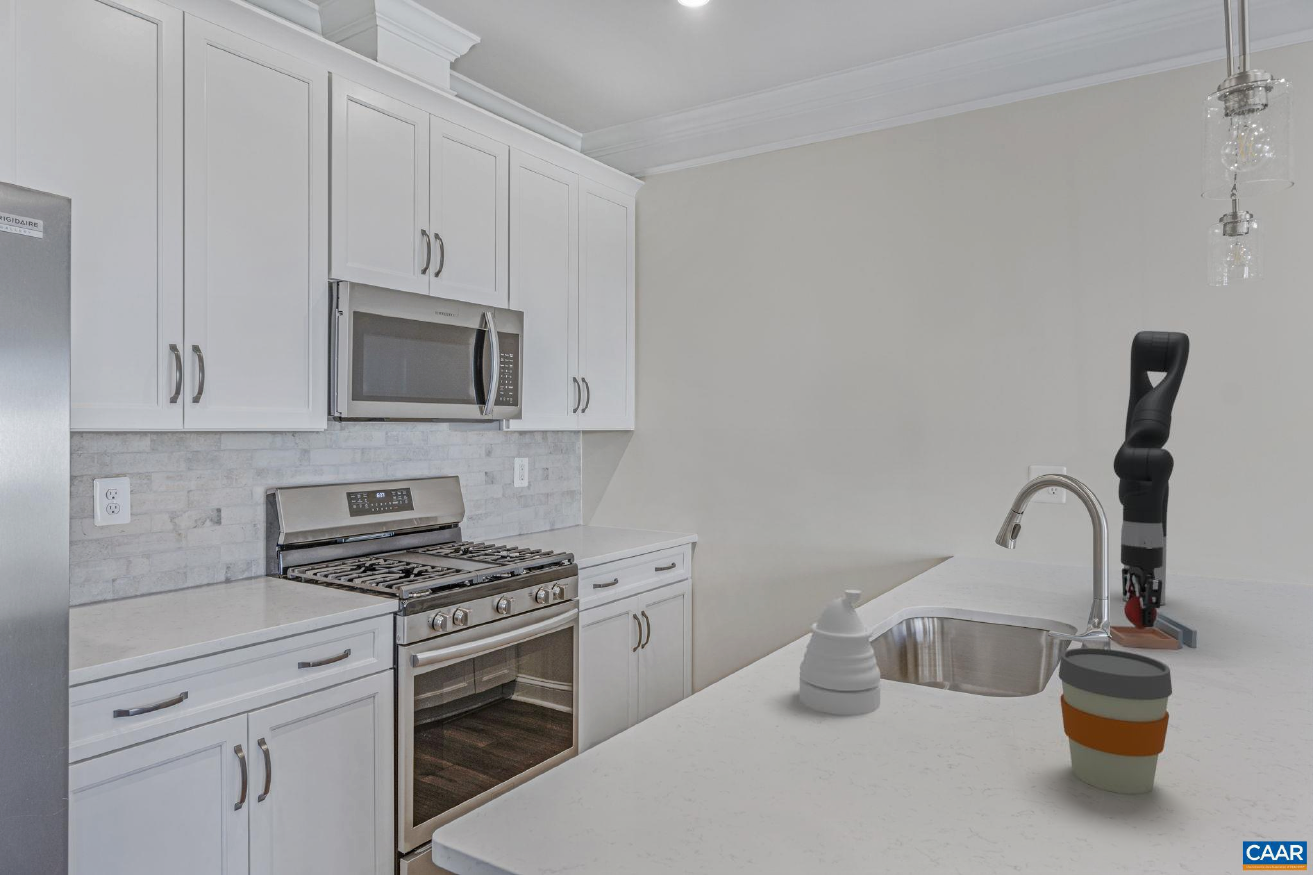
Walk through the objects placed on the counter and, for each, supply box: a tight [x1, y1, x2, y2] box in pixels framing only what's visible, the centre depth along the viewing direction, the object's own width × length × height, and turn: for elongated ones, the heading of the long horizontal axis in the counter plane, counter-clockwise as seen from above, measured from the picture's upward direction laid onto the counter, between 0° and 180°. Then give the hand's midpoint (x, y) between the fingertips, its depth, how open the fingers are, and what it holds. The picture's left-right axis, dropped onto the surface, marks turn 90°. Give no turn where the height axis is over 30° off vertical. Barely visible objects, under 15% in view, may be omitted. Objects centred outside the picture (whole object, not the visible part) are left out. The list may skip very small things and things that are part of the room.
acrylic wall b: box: [1150, 617, 1184, 649], centre depth 168 cm, size 16×1×4 cm, turn 170°
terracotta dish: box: [1110, 625, 1179, 650], centre depth 165 cm, size 10×10×2 cm
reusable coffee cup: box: [1058, 647, 1173, 795], centre depth 101 cm, size 13×13×15 cm
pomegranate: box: [1123, 596, 1158, 629], centre depth 165 cm, size 6×6×8 cm
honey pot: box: [798, 589, 881, 716], centre depth 128 cm, size 13×13×18 cm
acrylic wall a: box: [1157, 611, 1198, 649], centre depth 168 cm, size 16×1×4 cm, turn 170°
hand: (1140, 622), depth 165 cm, fingers closed on pomegranate, 6 cm apart
